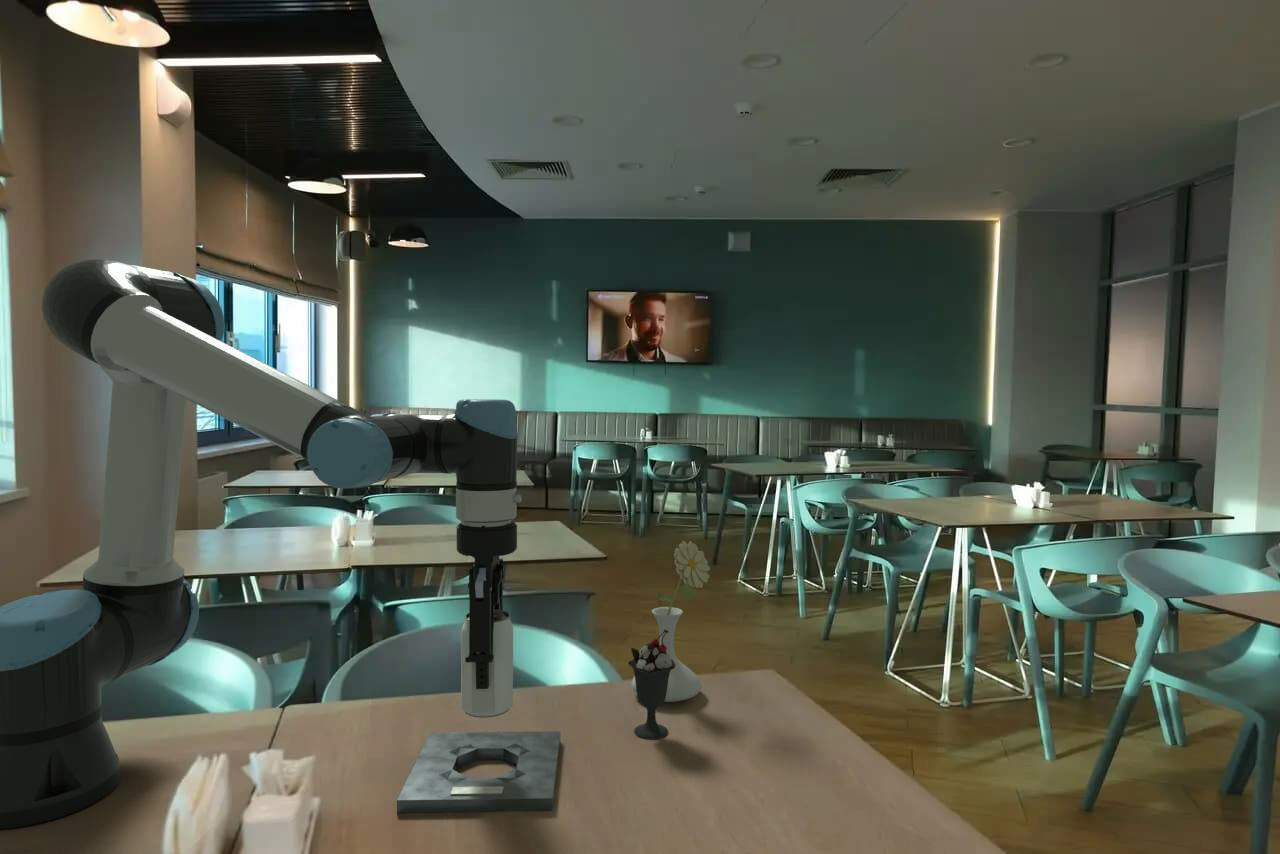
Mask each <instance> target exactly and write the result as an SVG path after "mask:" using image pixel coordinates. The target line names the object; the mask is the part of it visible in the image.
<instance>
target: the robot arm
mask: <svg viewBox="0 0 1280 854" xmlns="http://www.w3.org/2000/svg"><path fill="white" fill-rule="evenodd" d="M222 309H223V308H222V306H221V304H220V302H219V300H218V299H217V298H216V296H215V295H214V294H213V293H212V292H211V290H210V289H209V288H208V287H207V286H206V285H204V284H203V283H201V282H200V281H198V280H196V279H193V278H191V277H187V276H184V275H182V274H179V273H177V272H171V271H170V270H169V271H168V270H161V269H160V270H159V269H155V268H150V267H144V266H139V265H133V264H128V263H124V262H123V263H122V262H120V261H115V260H110V259H102V258H96V259H86V260H80V261H77V262H73V263H72V264H70V265H67V266H65V267H63V268H62V269H60V270H59V271H57V272H56V273H55V274H54V275H53V276H52V278H51V279H50V280H49V282H48V283H47V285H46V286H45V288H44V292H43V294H42V299H41V310H42V315H43V316H42V317H43V320H44V322H45V324H46V327H47V328H48V330H49V331H50V332H51V334H52V335H53V336H54V337H55V338H56V339H57V341H59V342H60V343H61V344H62V345H63V346H64V347H66V348H68V349H69V350H71V351H72V352H74V353H76V354H78V355H80V356H81V357H83V358H85V359H87V360H89V361H92V362H94V363H95V364H97V365H99V369H101V371H102V372H104V373H105V374H106V375H107V376H108V377H109V378H110V380H111V382H112V384H111V385H112V386H111V396H110V397H111V399H110V400H111V401H110V411H109V412H110V413H109V423H108V433H107V434H108V437H107V450H106V461H105V471H104V473H105V474H104V487H103V499H102V510H101V521H100V523H101V524H100V534H99V535H100V536H99V546H98V547H99V549H98V558H97V560H96V561H95V562H94V563H92V564H91V565H90V566H89V567H86V569H85V570H84V571H83V573H82V587H81V589H60V590H51V591H47V592H44V593H42V594H37V595H36V594H33V595H29V596H26V597H21V598H19V599H18V598H17V599H16V600H12V601H10V602H8V603H6V604H4V605H1V606H0V829H1V830H2V829H12V828H21V827H27V826H31V825H37V824H42V823H44V822H48V821H52V820H55V819H59V818H62V817H65V816H68V815H70V814H73V813H77V812H78V811H80V810H83V809H85V808H88V806H91V805H93V804H95V803H96V802H99V801H100V800H102V799H103V798H105V797H106V796H107V795H109V794H110V793H111V792H112V791H113V790H114V789H115V788H116V787H117V785H118V784H119V782H120V780H121V773H120V772H121V769H120V767H121V764H120V758H119V756H118V753H116V750H115V748H114V745H113V742H112V740H111V737H110V735H109V733H108V731H107V729H106V727H105V725H104V722H103V718H102V712H103V711H102V687H104V686H105V685H108V684H110V683H112V682H114V681H116V680H119V679H121V678H123V677H125V676H127V675H130V674H132V673H134V672H136V671H138V670H141V669H142V668H145V667H148V666H152V665H154V664H157V663H159V662H161V661H163V660H164V659H166V658H167V657H169V656H170V655H171V654H174V653H175V652H176V651H178V650H180V649H181V648H182V647H183V646H184V645H185V644H186V643H187V642H188V641H189V640H190V638H191V637H192V635H193V633H194V632H195V629H196V627H197V624H198V620H199V617H200V616H199V614H200V606H199V604H200V603H199V599H198V596H197V594H196V592H193V591H192V589H193V586H192V585H191V584H190V583H189V581H187V579H185V569H184V567H183V566H182V565H181V564H180V563H178V562H177V561H176V560H175V558H174V551H175V550H174V549H175V538H176V528H177V517H178V504H179V492H180V483H181V482H180V480H181V469H182V461H183V460H182V459H183V458H182V457H183V449H184V448H183V447H184V438H185V437H184V436H185V428H186V427H185V424H186V415H187V414H186V413H187V402H188V401H189V402H192V403H193V404H195V405H197V406H200V407H202V408H203V409H206V410H207V411H210V412H212V413H213V414H215V415H217V416H219V417H221V418H222V419H225V420H227V421H229V422H230V423H232V424H235V425H237V426H238V427H240V428H243V429H244V430H246V431H249V432H250V433H252V434H254V435H256V436H258V437H260V438H262V439H264V440H266V441H268V442H270V443H271V444H273V445H276V446H278V447H279V448H282V449H283V450H285V451H287V452H290V453H291V454H294V455H295V456H297V457H299V458H301V459H303V460H305V461H307V462H308V465H309V468H310V469H311V470H312V472H313V473H314V475H315V476H316V477H317V479H318V480H320V482H321V483H323V484H325V485H327V486H329V487H332V488H335V489H361V488H365V487H369V486H371V485H373V484H377V483H380V482H384V481H387V480H392V479H395V478H399V477H403V476H408V475H412V474H444V475H445V474H447V475H448V474H449V475H451V474H455V477H456V481H455V483H456V484H455V485H456V487H455V517H456V519H457V521H460V522H459V523H457V525H456V552H457V553H459V554H460V555H461V556H466V557H472V558H473V559H474V563H473V565H472V568H469V571H468V572H469V573H468V584H467V588H468V594H469V595H468V596H469V612H468V613H469V656H468V657H465V661H466V662H472V713H494V712H495V660H493V659H494V655H493V630H494V613H495V609H497V610H503V611H504V575H505V561H504V558H502V556H503V557H504V556H507V555H511V554H513V553H515V551H516V550H517V548H518V524H517V523H516V522H515V521H514V519H516V517H517V515H518V514H517V511H518V510H517V507H518V506H517V503H521V502H522V500H523V497H522V495H521V494H516V492H517V486H518V485H517V483H518V482H517V472H518V470H517V469H518V467H517V465H518V439H519V434H518V429H517V425H518V424H517V413H516V412H517V411H516V409H517V408H516V406H515V404H514V403H513V402H512V401H511V400H508V399H499V398H498V399H496V398H495V399H491V398H490V399H489V398H488V399H486V398H485V399H481V398H480V399H477V398H475V399H474V398H473V399H472V398H471V399H470V398H469V399H468V398H467V399H459V400H458V401H457V402H456V404H455V411H454V413H450V414H424V413H423V414H419V413H400V412H386V413H376V414H372V415H368V414H366V413H364V412H362V411H359V410H358V409H356V408H354V407H351V406H350V405H348V404H346V403H343V402H341V401H340V400H338V399H336V398H334V397H332V396H331V395H329V394H326V393H324V392H322V391H320V390H318V389H317V388H314V387H312V386H310V385H309V384H307V383H304V381H301V380H299V379H297V378H294V377H293V376H290V374H289V375H288V374H287V373H286V372H283V371H282V370H281V371H280V370H279V369H277V368H275V367H273V366H271V365H269V364H267V363H265V362H263V361H261V360H259V359H257V358H255V357H253V356H251V355H250V354H248V353H245V352H243V351H241V350H239V349H237V348H235V347H234V346H231V345H229V344H227V343H225V342H223V338H224V333H225V318H224V313H223V310H222ZM500 557H501V558H500Z"/></svg>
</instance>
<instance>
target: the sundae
mask: <svg viewBox="0 0 1280 854" xmlns="http://www.w3.org/2000/svg"><path fill="white" fill-rule="evenodd" d="M664 632H666V633H668V631H667V630H664ZM664 632H663V633H664ZM663 633H662V634H663ZM666 633H665V634H666ZM662 634H661V635H662ZM665 634H664V636H665ZM661 635H660V634H659V636H658V637H657V638H654V639H652V640H651V642H650V643H645V645H643V646H642V647H641V648H640V650H639V649H637V648H635V647H631V648H630V649H631V653H632V656H633V658H632V659H631V660H630V661H628V665H629V667H631V668H632V669H633V675H634V676H635V681H636V691H637V693H636V695H637V696H636V697H637V700H638V701H639V703H640V704H641V705H642V706H643V707H644V708H646V710H647V711H646V715H647V716H646V721H645V723H643V724H640V725H637V726H635V728H634V730H633V732H634V734H635V735H636V736H638V737H639V738H641V739H645V740H658V739H663V738H664V737H666V736H667V735H668V733H669V729H668V728H667V727H666V726H664V725H662V724H659V723H657V718H656V710H657V709H658V708H659V707H661V706H662V705H663V703H665V702H664V701H665V698H666V693H667V687H668V679H669V674H670V671H671V670H672V669H674V668H675V663H674V661H673V660H672V659H671V658H670V655H669V654H667V652H666V649H667V647H666V646H665V645H663V637H664V636H663V637H662V645H660V637H661Z"/></svg>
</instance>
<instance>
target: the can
mask: <svg viewBox="0 0 1280 854" xmlns="http://www.w3.org/2000/svg"><path fill="white" fill-rule="evenodd" d="M510 617H511V614H510V612H508V611H506V610H504V609H503V610H497V609H495V613H494V630H493V655H494V659H493V660H495V712H494V713H472V662H466V661H465V657H468V656H469V612H468V613H467V614H465V615H464V619H465V620H464V621H463V624H462V628H461V634H460V635H461V636H460V637H461V643H460V644H461V645H460V646H461V647H460V649H461V650H460V652H461V653H460V655H461V656H460V657H461V658H460V660H461V661H460V664H461V665H460V666H461V667H460V668H461V669H460V671H461V674H460V676H461V679H460V680H461V682H460V690H461V691H460V693H461V695H460V699H461V701H460V703H461V709H462V711H463V712H464V713H465V714H466V715H468V716H470V717H474V718H480V719H481V718H483V719H486V718H493V717H498V716H499V717H500V716H501V715H503V714H506V713H507V712H509V710H510V709H511V708H512V706H513V704H514V703H513V701H514V700H513V699H514V625H513V624H512V621H511V619H510Z"/></svg>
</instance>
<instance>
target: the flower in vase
mask: <svg viewBox="0 0 1280 854" xmlns="http://www.w3.org/2000/svg"><path fill="white" fill-rule="evenodd" d="M673 557H674V559H675V560H674V565H675V566H676V568H675V571H676V572H675V573H677V574H678V575H679V577H680V578H679V580H678V583H677V587H676V591H675V592H674V594H673V597H671V596H668V595H665V594H663V593H661V592H660V591H657V594H656V598H657V599H658V600H660V601H663V602H667V603H670V604H669V606H661V607H656V608H653V609H651V612H652V614H653V615H654V618H655V619H656V622H657V624H658V630H659V636H660V635H661V634H662V633H663V632H664V630H667V631H668V633H666V632H664V633H663V634H662V635H661V637H660V638H659V645H662V637H663V636H664V634H665V633H666V634H665V636H664V637H663V645H665V646H666V647H667V649H666V652H667V654H669V655H670V658H671V659H672V660H673V661H674V663H675V668H674V669H672V670H671V671H670V674H669V679H668V687H667V693H666V698H665V701H664V702H663V703H675V702H681V701H686V700H688V699H691V698H693V697H695V696H696V695H698V694H699V693H700V691H701V690H702V683H701V680H700V678H699V676H697V674H695V673H694V672H693V671H692V670H691V669H690V668H689V667H688V666H686V665H685V664H684V663H682V661H680V659H678V657H677V656H676V654H675V645H674V644H675V634H676V633H675V631H676V627H677V623H678V621H679V619H680V617H681V616H682V615H683V613H684V611H683V610H682V609H680V608H678V607H673V605H674V602H675V600H676V597H677V595H679V596H680V597H681V598H682V599H683V600H684V601H691V600H693V599H695V598H696V597H697V596H698V592H697V591H696V589H694V587H695V588H697V589H699V588H700V589H702V588H703V586H704V583H708V581H709V578H710V574H709V573H708V572H709V571H710V570H711V566H710V565H709V564H708V560H707V559H706V557H705V552H704V551H702V550H699V548H698V546H697V544H695V543H693V542H692V541H689V542H688V543H687V542H686V541H685V540H682V542H681V543H679V544H678V547H676V548H675V550H674V554H673ZM682 580H683V583H684V584H683V585H682V586H681V584H682ZM630 685H631V688H632V690H633V691H634V692H635V693H636V694H637V691H636V681H635V675H634V676H633V677H632V681H631V683H630Z"/></svg>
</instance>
